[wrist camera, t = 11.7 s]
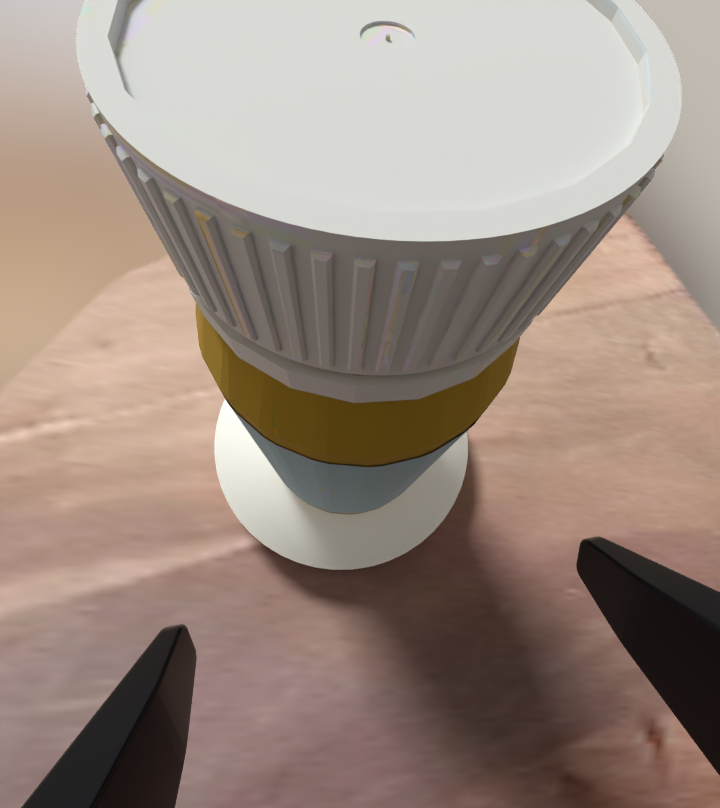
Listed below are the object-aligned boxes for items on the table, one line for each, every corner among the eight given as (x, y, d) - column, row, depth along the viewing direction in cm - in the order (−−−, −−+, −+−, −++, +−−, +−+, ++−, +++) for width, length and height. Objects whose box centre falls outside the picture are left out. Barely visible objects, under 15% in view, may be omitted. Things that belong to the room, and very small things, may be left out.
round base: (464, 366, 22) (475, 349, 20) (444, 592, 17) (457, 596, 15) (263, 328, 22) (257, 307, 20) (191, 541, 18) (174, 539, 16)
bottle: (369, 351, 20) (451, -141, 6) (449, 464, 18) (872, 117, 4) (247, 415, 18) (-57, -71, 4) (320, 548, 16) (213, 488, 2)
